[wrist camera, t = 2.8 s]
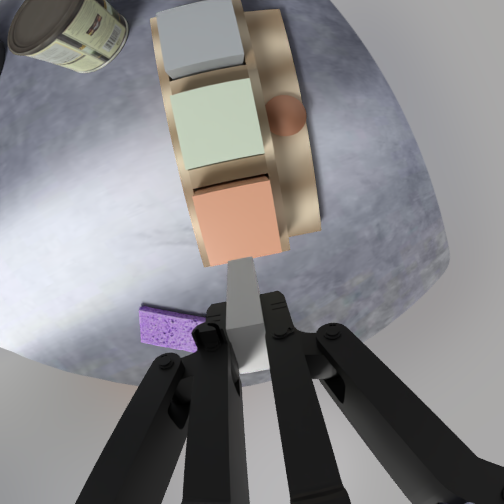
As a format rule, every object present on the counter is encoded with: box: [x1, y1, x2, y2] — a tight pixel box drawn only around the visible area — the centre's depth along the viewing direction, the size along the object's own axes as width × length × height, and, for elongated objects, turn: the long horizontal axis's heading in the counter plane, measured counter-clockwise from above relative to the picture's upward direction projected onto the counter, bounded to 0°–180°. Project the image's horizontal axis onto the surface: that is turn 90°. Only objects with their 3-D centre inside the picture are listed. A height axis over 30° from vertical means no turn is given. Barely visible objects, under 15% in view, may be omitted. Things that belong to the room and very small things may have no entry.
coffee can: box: [8, 0, 128, 73], centre depth 17 cm, size 10×10×14 cm
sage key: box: [170, 78, 265, 170], centre depth 25 cm, size 7×7×5 cm
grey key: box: [156, 0, 244, 80], centre depth 21 cm, size 7×7×5 cm
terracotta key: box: [192, 174, 282, 266], centre depth 29 cm, size 7×7×5 cm
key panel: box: [150, 0, 321, 267], centre depth 28 cm, size 30×15×6 cm, turn 11°
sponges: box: [139, 306, 206, 352], centre depth 41 cm, size 7×13×2 cm, turn 78°
